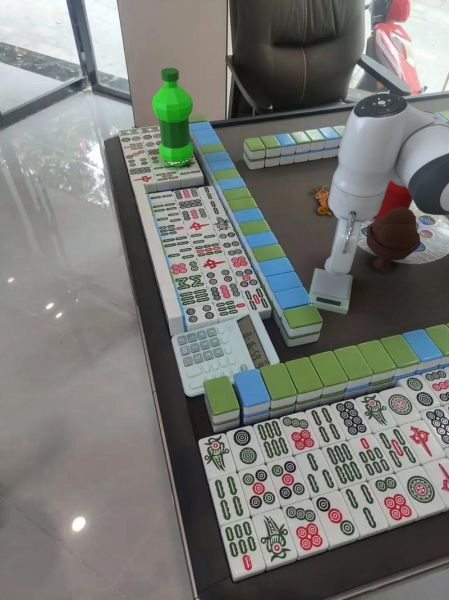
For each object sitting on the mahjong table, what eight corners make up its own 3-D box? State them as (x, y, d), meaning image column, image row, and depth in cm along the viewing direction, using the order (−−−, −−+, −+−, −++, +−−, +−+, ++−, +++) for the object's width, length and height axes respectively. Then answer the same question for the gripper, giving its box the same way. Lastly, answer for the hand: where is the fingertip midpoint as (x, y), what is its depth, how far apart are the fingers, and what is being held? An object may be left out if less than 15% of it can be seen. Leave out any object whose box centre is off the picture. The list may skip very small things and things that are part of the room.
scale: (350, 283, 93) (353, 273, 90) (345, 318, 86) (348, 307, 84) (313, 276, 94) (315, 265, 92) (305, 309, 88) (308, 298, 85)
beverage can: (404, 217, 108) (421, 175, 100) (400, 232, 104) (417, 190, 95) (377, 210, 110) (391, 168, 101) (372, 225, 106) (386, 182, 97)
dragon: (314, 217, 108) (317, 205, 105) (310, 191, 116) (312, 179, 113) (332, 218, 108) (335, 205, 105) (326, 192, 116) (329, 180, 113)
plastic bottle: (152, 162, 125) (140, 70, 107) (180, 149, 130) (174, 60, 112) (173, 176, 120) (164, 82, 102) (202, 162, 125) (199, 71, 107)
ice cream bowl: (349, 253, 99) (366, 198, 88) (397, 251, 100) (419, 196, 89) (362, 286, 92) (382, 231, 81) (413, 283, 93) (440, 228, 82)
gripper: (370, 238, 66) (350, 299, 76) (378, 169, 79) (360, 229, 89) (328, 230, 67) (314, 291, 77) (343, 163, 80) (329, 223, 90)
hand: (338, 257), depth 83 cm, fingers closed on rook chess piece, 3 cm apart
